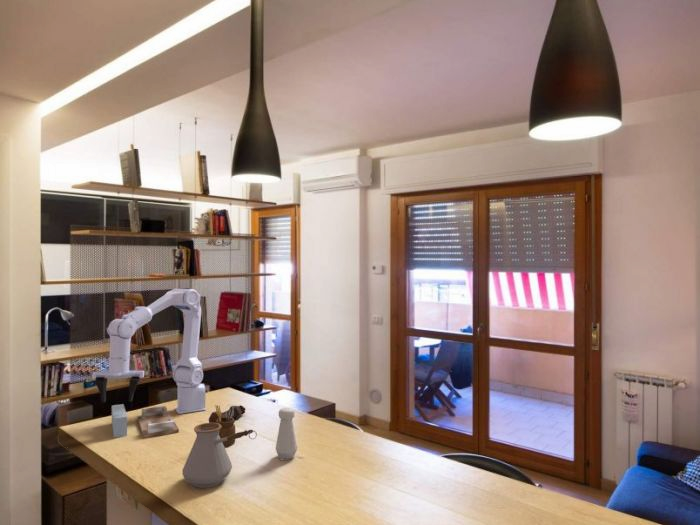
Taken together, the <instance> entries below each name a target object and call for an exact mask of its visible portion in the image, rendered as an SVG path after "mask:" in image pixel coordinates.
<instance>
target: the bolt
mask: <svg viewBox="0 0 700 525" xmlns="http://www.w3.org/2000/svg"><path fill="white" fill-rule="evenodd" d="M230 406H231V408H230V407H229V408H228V409H227V410H225V411H221V416H220V418H222V417H232V418H234V419H237V420H240V418H241V416H242V415H244V414H246V408H245V407H244V406H243V405H230ZM232 408H233V409H232ZM229 409H230V410H229ZM226 411H227V415H226V414H225V412H226ZM232 412H234V413H232ZM229 414H230V415H229ZM231 414H232V415H233V416H232V415H231ZM217 419H219V416H218V415H217V412H216V411H213V412H212V413H211V414H210V416H209V417H208V423H216V420H217Z"/></svg>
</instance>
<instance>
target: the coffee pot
mask: <svg viewBox="0 0 700 525" xmlns="http://www.w3.org/2000/svg"><path fill="white" fill-rule="evenodd" d="M221 427H222V426H221V425H220V424H218V423H209V422H205V423H200V424H197V425H196V426H194V427H193V430H194V433H195V434H196V437H195V440H194V442H193V445H192V447H191V449H190V452H189V454H188V455H187V458H186V461H185V463H184V465H183V468H182V476H183V479H185V480H186V482H188V483H189V484H190V485H191V486H193V487H196V488H200V489H201V488H211V487H214V486H217V484H218V485H219V483H220V484H221V483H222V482H224V480H225V479H227V477H229V474H230V472H231V471H232V468H233V464H232V461H231V459H230V456H229V455H228V453H227V451H226V448H225V447H224V445H223V443H222V442H224V441H227V440H232V439H235V440H236V439H240V438H243V437H246V436H248V438H249V439H251V440H255V439H256V438H257V437H258V436H257V432H256V430H254V429H248V430H247V429H245V430H244V431H239V432H235V434H233V435H230V436H228V437H225V438H222V439H221V438H220V436H219V431H220V429H221ZM253 433H255V437H254V438H251V436H250V435H251V434H253Z"/></svg>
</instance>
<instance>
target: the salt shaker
mask: <svg viewBox="0 0 700 525" xmlns="http://www.w3.org/2000/svg"><path fill="white" fill-rule="evenodd" d="M278 417H279V419H280V421H279V426H278V432H277V438H276V442H275V443H276V444H275V452H276V454H277V456H278V458H279V459H280V460H281V459H285V460H284V461H289V460H291V459H294V456H295V455H296V453H297V451H298V443H297V438H296V434H295V426H294V421H293V419H294V418H295V410H294V409H293V408H292V407H283V408H280V409H279V411H278ZM288 459H289V460H288Z"/></svg>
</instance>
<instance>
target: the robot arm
mask: <svg viewBox="0 0 700 525" xmlns="http://www.w3.org/2000/svg"><path fill="white" fill-rule="evenodd" d="M171 306H173V307H175V308H177V309H179V310H180V311H181V312H182V313H183V314H184V315H185V316H184V317H185V318H184V325H183V326H184V327H183V337H182V345H181V346H182V348H181V357H180V358H179V360H178V361H177V362H176V364H175V367H174V371H173V373H172V379H173V381H174V382H175V383H176V386H177V402H176V403H177V405H176V406H175V407H174V410H175V411H176V412H177V414H178V415H181V414H186V413H194V412H200V411H206V386H205V383H202V381H203V379H204V372H203V364H202V362H201V361H200V359H198V354H199V353H198V352H199V342H200V332H201V331H200V330H201V322H202V319H201V318H202V307H201V294H200V293H199V292H198V290H195V289H194V288H189V289H187V288H172V289H171V290H169V291H167V292H166V293H165V294H164V295H163V296H161V297H159V298H158V299H156V300H155V301H154V302H152V303H150V304H149V305H148V306H143V305H142V306H141V305H140V306H139V305H138V306H136V307H134V310H132V311H131V312H129V313H127V314H123V315H122V316H121V318H115V319H113V320H112V321H110V322H109V324H108V327H106V332H107V334H108V335H109V342H110V344H109V359H108V362H109V363H108V370H103V371H102V370H100V371H99V370H98V371H93V372H91V374H92V375H91V378H92V380H94V384H95V385H96V386H97V389H98V392H99V395H100V401H101V403H105V402H106V401H107V400H106V399H107V386H108V385H107V384H108V379H125V378H126V379H128V378H130V379H129V394H128V403H130V402H132V401H133V398H134V394H135V392H136V388H137V387H138V384H139V383H140V380H141V379H143V378H144V377H145V370H134V369H133V370H132V369H131V370H130V359H131V357H130V356H131V354H130V353H131V344H132V343H131V340H132V339H131V338H132V337H133V336H134V334H135V333H136V331H137V330H138V329H140V328H141V327H143V326H145V325H146V324H148V323H149V322H151V320H152V319H153V316H154V315H156V314H157V313H160V312H161V311H163V310H165V309H167V308H169V307H171Z"/></svg>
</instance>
